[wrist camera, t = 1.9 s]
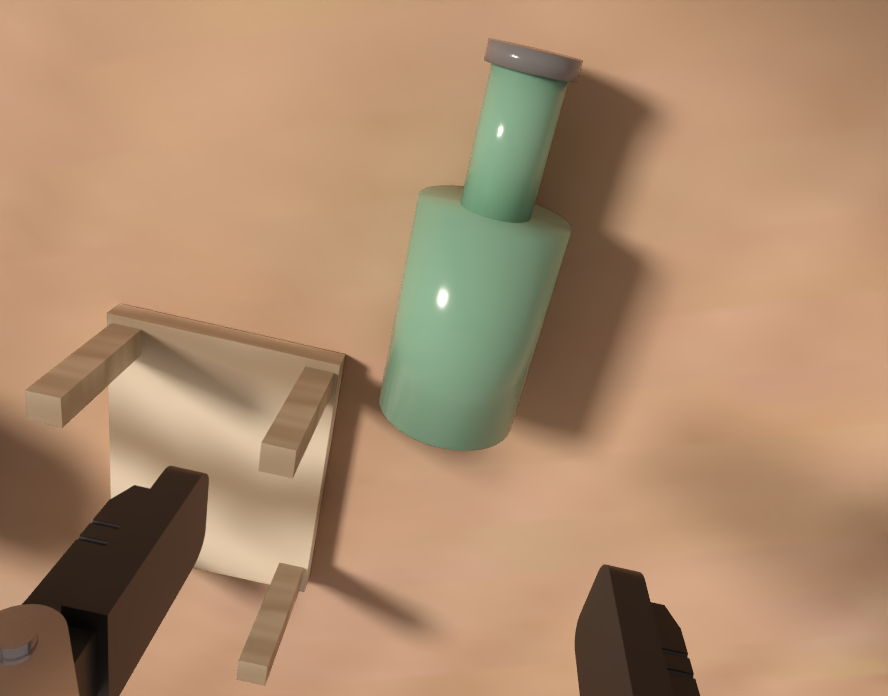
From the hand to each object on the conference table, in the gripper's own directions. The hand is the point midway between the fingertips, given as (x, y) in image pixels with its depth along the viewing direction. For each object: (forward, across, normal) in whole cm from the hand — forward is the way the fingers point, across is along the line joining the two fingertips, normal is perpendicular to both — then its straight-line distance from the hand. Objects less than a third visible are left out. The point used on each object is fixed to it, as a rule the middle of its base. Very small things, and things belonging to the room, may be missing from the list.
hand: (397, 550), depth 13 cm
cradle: (+14, +8, +10) cm, 20 cm away
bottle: (+14, 0, -3) cm, 15 cm away
